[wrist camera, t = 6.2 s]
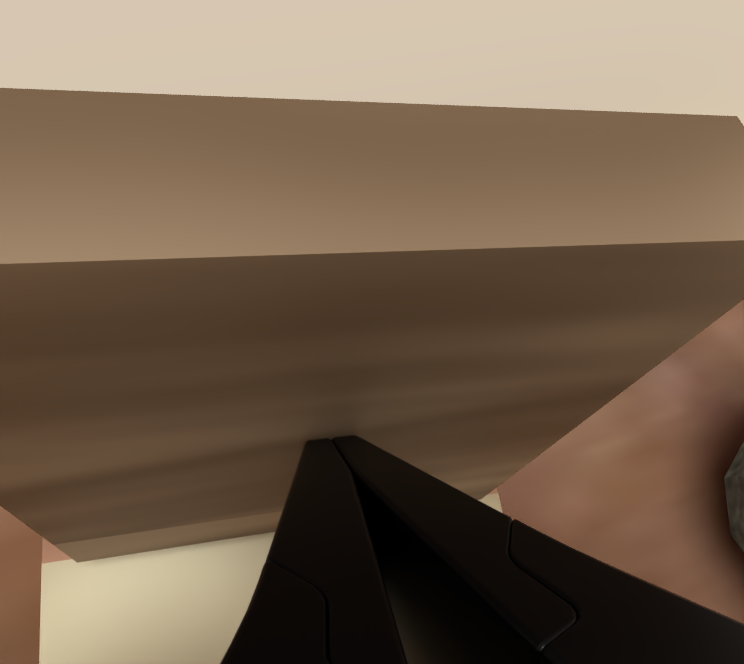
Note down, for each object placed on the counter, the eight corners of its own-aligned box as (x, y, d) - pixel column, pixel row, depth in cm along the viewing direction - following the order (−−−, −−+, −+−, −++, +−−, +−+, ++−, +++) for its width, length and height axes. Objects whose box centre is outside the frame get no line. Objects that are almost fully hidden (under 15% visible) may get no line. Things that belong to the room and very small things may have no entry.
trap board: (556, 932, 15) (601, 985, 13) (56, 1125, 12) (25, 1228, 10) (442, 345, 20) (463, 326, 18) (66, 375, 17) (46, 355, 15)
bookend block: (480, 499, 16) (824, 237, 6) (76, 562, 13) (-311, 275, 4) (435, 340, 18) (641, -17, 9) (87, 367, 15) (-139, -102, 6)
